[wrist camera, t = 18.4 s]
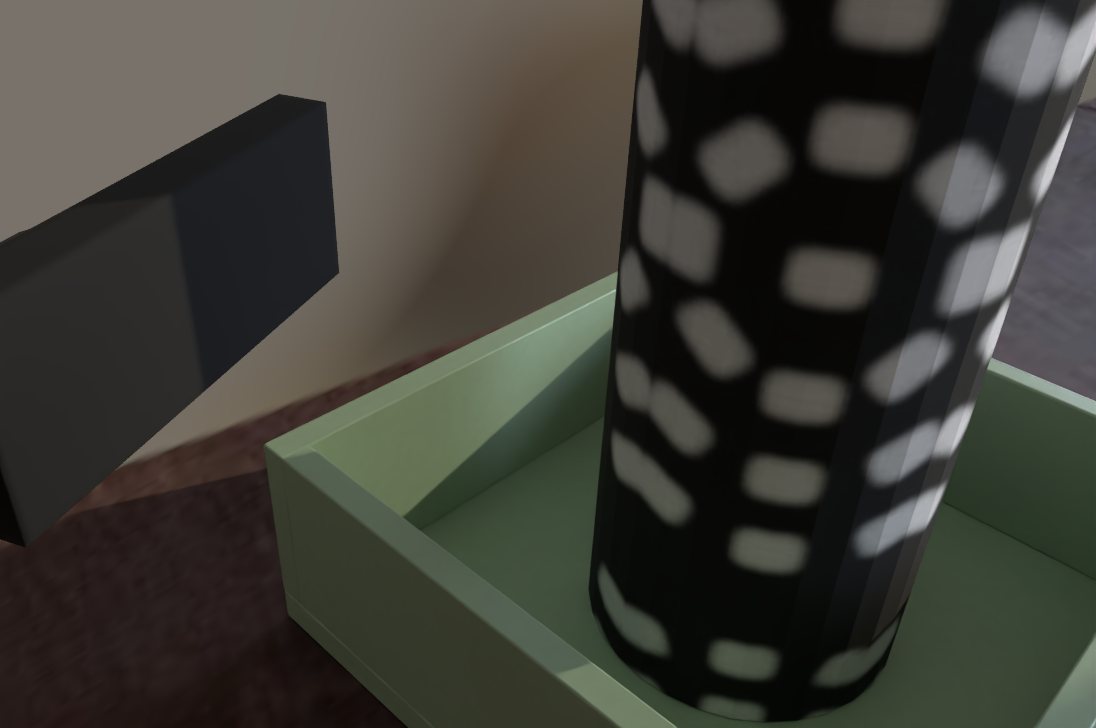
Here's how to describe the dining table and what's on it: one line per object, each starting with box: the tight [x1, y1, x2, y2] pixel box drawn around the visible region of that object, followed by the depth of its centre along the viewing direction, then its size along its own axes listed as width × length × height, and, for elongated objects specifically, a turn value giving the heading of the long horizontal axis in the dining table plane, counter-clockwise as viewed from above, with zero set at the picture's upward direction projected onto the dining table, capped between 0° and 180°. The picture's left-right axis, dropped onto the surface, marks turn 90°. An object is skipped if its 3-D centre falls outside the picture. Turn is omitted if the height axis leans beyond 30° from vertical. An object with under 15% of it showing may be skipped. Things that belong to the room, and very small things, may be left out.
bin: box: [264, 271, 1096, 728], centre depth 27 cm, size 18×18×6 cm
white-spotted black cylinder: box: [588, 0, 1096, 722], centre depth 22 cm, size 8×8×20 cm
